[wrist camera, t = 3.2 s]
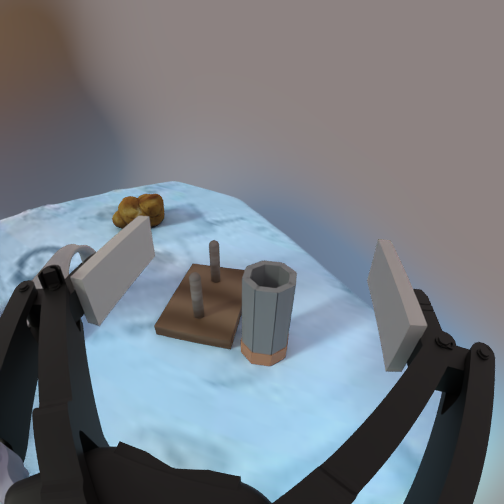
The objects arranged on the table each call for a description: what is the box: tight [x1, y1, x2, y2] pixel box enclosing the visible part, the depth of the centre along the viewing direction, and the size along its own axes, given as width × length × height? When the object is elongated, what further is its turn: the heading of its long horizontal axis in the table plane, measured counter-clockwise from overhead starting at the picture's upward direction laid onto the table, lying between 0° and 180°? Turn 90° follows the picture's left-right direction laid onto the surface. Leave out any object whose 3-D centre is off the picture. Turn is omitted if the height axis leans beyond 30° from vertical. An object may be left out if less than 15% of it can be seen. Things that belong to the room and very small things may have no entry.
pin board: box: [154, 240, 245, 349], centre depth 39 cm, size 15×10×8 cm, turn 170°
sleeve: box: [241, 261, 297, 366], centre depth 31 cm, size 5×5×11 cm
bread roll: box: [112, 194, 164, 228], centre depth 62 cm, size 13×10×8 cm
